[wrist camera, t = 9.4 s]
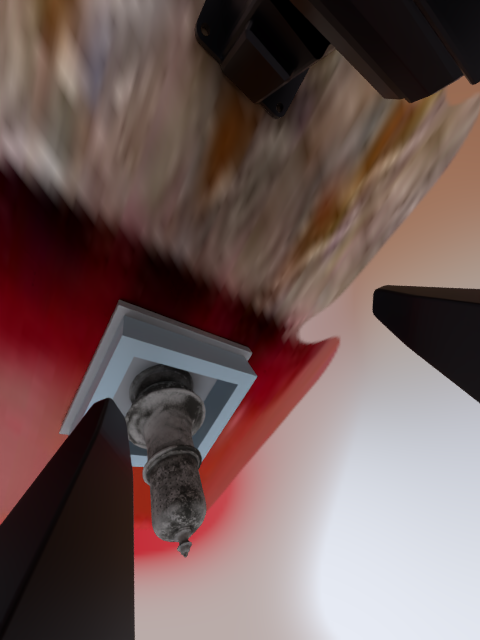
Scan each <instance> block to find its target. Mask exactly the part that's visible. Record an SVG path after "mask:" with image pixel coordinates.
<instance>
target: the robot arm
mask: <svg viewBox="0 0 480 640" xmlns="http://www.w3.org/2000/svg"><path fill="white" fill-rule="evenodd" d="M201 27H205V28H206V29H207V31H208V36H204V35H203V34H202V32H201ZM195 36H196V39H197V40H198V42H199V43H200V44H201V45H202V46H203V47H204V48H205V49H206V50H207V51H208V52H209V53H210V54H211V55H212V56H213V57H214V58H215V59H216V60H217V61H218V62H219V63H220V64H221V67H222V71H223V73H224V74H225V75H226V76H227V77H228V78H229V79H230V80H231V81H232V82H233V83H234V84H235V85H236V86H237V87H238V88H239V89H240V90H241V91H242V92H243V93H244V94H245V95H246V96H247V97H248V98H249V99H250V100H251V101H252V102H253V103H260V104H261V105H262V106H263V107H264V108H265V109H266V110H267V111H268V112H269V113H270V114H271V115H272V117H274V118H275V119H278V118H280V117H282V116H284V115H285V113H286V111H287V109H288V108H289V106H290V104H291V102H292V100H293V98H294V96H295V94H296V92H297V91H298V89H299V87H300V85H301V83H302V81H303V79H304V77H305V75H306V74H307V72H308V70H309V68H310V67H311V66H312V65H313V64H315V63H316V62H318V61H319V60H320V59H322V58H323V57H325V56H326V55H328V54H329V53H330V52H332V51H333V50H335V49H337V50H338V51H339V52H340V53H341V54H342V55H343V56H344V57H345V58H346V59H347V60H348V61H349V63H350V64H351V65H352V66H353V67H354V68H355V69H356V70H357V71H358V72H359V73H360V74H361V75H362V76H363V77H364V78H365V79H366V80H367V81H368V82H369V83H370V84H371V85H372V86H373V87H374V88H375V89H376V90H377V91H378V92H379V93H380V94H381V96H382V97H383V98H386V99H403V98H405V99H406V100H407V101H408V102H409V103H412V102H415V101H417V100H420V99H423V98H425V97H428V96H430V95H432V94H434V93H436V92H438V91H440V90H441V89H443V88H445V87H446V86H448V85H450V84H451V83H453V82H455V81H457V80H458V79H460V78H461V77H462V76H464V75H465V77H466V78H467V80H468V81H469V83H470V84H472V85H474V84H476V83H478V82H480V0H206V1H205V4H204V6H203V8H202V11H201V13H200V15H199V18H198V20H197V23H196V26H195ZM277 104H278V105H279V106H280V109H281V110H280V113H279V112H278V111H277V109H276V106H277ZM373 313H374V315H375V316H376V318H377V319H378V320H380V322H382V323H383V324H384V325H385V326H386V327H387V328H388V329H389V330H390V331H391V332H392V333H393V334H394V335H395V336H396V337H398V338H399V339H400V340H401V341H402V342H403V343H404V344H405V345H406V346H407V347H409V348H410V349H411V350H412V351H414V352H415V353H416V354H417V355H419V356H420V357H422V358H423V359H424V360H425V361H426V362H428V363H429V364H430V365H432V366H433V367H434V368H435V369H437V370H438V371H439V372H441V373H442V374H443V375H444V376H446V377H447V378H448V379H450V380H451V381H452V382H454V383H455V384H456V385H457V386H459V387H460V388H461V389H462V390H464V391H465V392H466V393H468V394H469V395H470V396H471V397H473V398H474V399H475V400H477V401H478V402H479V403H480V289H463V288H439V287H416V286H394V285H393V286H392V285H386V286H383V287H380V288H378V289H376V290H375V291H374V294H373ZM134 626H135V625H134V517H133V471H132V462H131V455H130V447H129V440H128V432H127V424H126V420H125V417H124V415H123V414H122V412H121V411H120V409H119V408H118V407H117V405H116V404H115V402H114V401H113V399H111V398H105V399H102V400H100V401H97V402H95V403H94V404H93V405H92V406H91V407H90V409H89V410H88V411H87V413H86V414H85V415H84V417H83V418H82V419H81V421H80V422H79V423H78V424H77V426H76V427H75V428H74V430H73V431H72V432H71V434H70V435H69V436H68V438H67V439H66V440H65V441H64V443H63V444H62V445H61V447H60V448H59V449H58V451H57V452H56V453H55V455H54V456H53V457H52V458H51V460H50V461H49V462H48V464H47V465H46V466H45V468H44V469H43V470H42V472H41V473H40V474H39V475H38V477H37V478H36V479H35V481H34V482H33V483H32V485H31V486H30V487H29V489H28V490H27V491H26V492H25V494H24V495H23V496H22V498H21V499H20V500H19V502H18V503H17V504H16V506H15V507H14V508H13V509H12V511H11V512H10V513H9V515H8V516H7V517H6V519H5V520H4V521H3V522H2V524H1V525H0V640H135V631H134V630H135V628H134Z"/></svg>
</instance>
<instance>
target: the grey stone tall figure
mask: <svg viewBox="0 0 480 640" xmlns="http://www.w3.org/2000/svg"><path fill="white" fill-rule="evenodd" d="M129 398H130V400H131V403H132V405H131V408H130V409H129V411H128V412H127V414H126V416H125V420H126V424H127V432H128V440H130V441H131V442H132V443H133V444H134V445H136V446H139V447H141V448H144V449H147V463H146V464H145V466H144V469H143V479H144V481H145V482H146V483H147V484H148V485H150V493H151V512H152V526H153V530H154V532H155V534H156V535H157V536H158V537H159V538H161V539H162V540H164V541H169V542H179V543H180V544H179V546H178V548H177V550H178V551H179V552H181V554H182V555H184V557H187V555H188V552H189V550H190V547H191V545H192V543H191V542H189V541H188V538H189V537H190V536H191V535H192V534H193V533H194V532H195V531H196V530H197V529H198V528H199V527H200V526H201V524H202V522H203V520H204V518H205V515H206V502H205V497H204V493H203V489H202V484H201V480H200V475H199V471H198V469H199V468H200V465H201V463H202V456H201V453H200V451H199V450H198V449H197V448H195V447H194V444H193V439H192V436H193V435H194V434H195V433H196V432H197V431H198V430H199V428H200V427H201V426H202V424H203V421H204V419H205V413H206V410H205V405H204V402H203V401H202V400H201V398H200V397H199V396H198V395H197V394H195V393H194V391H193V380H192V377H191V375H190V374H189V372H188V371H186V370H182V369H178V368H175V367H171V366H167V365H163V364H158V365H155V366H151V367H149V368H147V369H145V370H143V371H142V372H141V373H139V374H138V375H137V376H136V377H135V379H134V380H133V381H132V383H131V386H130V389H129Z"/></svg>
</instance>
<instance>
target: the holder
mask: <svg viewBox="0 0 480 640" xmlns="http://www.w3.org/2000/svg"><path fill="white" fill-rule="evenodd" d="M251 355H252V352H251V350H250V349H249V348H248V347H246V346H243V345H240V344H238V343H235V342H232V341H230V340H227V339H224V338H221V337H219V336H216V335H213V334H211V333H208V332H205V331H202V330H200V329H197V328H194V327H192V326H189V325H186V324H184V323H181V322H178V321H175V320H173V319H170V318H167V317H165V316H162V315H159V314H157V313H154V312H151V311H148V310H146V309H143V308H140V307H138V306H135V305H132V304H130V303H127V302H124V301H121V300H119V301H118V304H117V306H116V308H115V310H114V312H113V314H112V317H111V319H110V321H109V323H108V325H107V328H106V330H105V332H104V334H103V336H102V338H101V341H100V343H99V345H98V347H97V349H96V351H95V354H94V356H93V358H92V360H91V362H90V364H89V367H88V369H87V371H86V373H85V375H84V377H83V380H82V382H81V384H80V386H79V388H78V390H77V393H76V395H75V397H74V399H73V401H72V403H71V406H70V408H69V410H68V412H67V414H66V416H65V419H64V421H63V423H62V426H61V429H60V432H59V434H68V436H69V435H70V434H71V432H72V431H73V430H74V428H75V427H76V426H77V424H78V423H79V422H80V421H81V419H82V418H83V417H84V415H85V414H86V413H87V411H88V410H89V409H90V407H91V406H92V405H93V404H94V403H95V402H97V401H100V400H102V399H105V398H111V399H113V401H114V402H115V404H116V405H117V407H118V408H119V409H120V411H121V412H122V414H123V415H124V417H125V416H126V414H127V412H128V411H129V409H130V408H131V405H132V403H131V400H130V398H129V389H130V386H131V383H132V381H133V380H134V379H135V377H136V376H137V375H138V374H139V373H141V372H142V371H143V370H145V369H147V368H149V367H151V366H155V365H158V364H163V365H167V366H171V367H175V368H178V369H182V370H186V371H188V372H189V374H190V375H191V377H192V380H193V391H194V393H195V394H197V395H198V396H199V397H200V398H201V400H202V401H203V402H204V405H205V410H206V413H205V419H204V421H203V424H202V426H201V427H200V428H199V430H198V431H197V432H196V433H195V434H194V435H193V436H192V439H193V444H194V447H195V448H197V449H198V450H199V451H200V453H201V456H202V461H203V459H204V458H205V456H206V455H207V453H208V452H209V450H210V448H211V447H212V445H213V444H214V442H215V441H216V439H217V438H218V436H219V435H220V433H221V432H222V430H223V428H224V427H225V425H226V424H227V422H228V421H229V419H230V418H231V416H232V415H233V413H234V411H235V410H236V408H237V407H238V405H239V404H240V402H241V401H242V399H243V398H244V396H245V395H246V393H247V391H248V390H249V388H250V387H251V385H252V384H253V382H254V381H255V379H256V378H257V375H256V374H255V372H254V371H253V369H252V368H251V366H250V365H249V363H248V362H247V361H248V360H249V358H250V356H251ZM129 447H130V455H131V462H132V466H136V467H144V466H145V464H146V463H147V449H144V448H141V447H139V446H136V445H134V444H133V443H132V442H131V441H130V440H129Z"/></svg>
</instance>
